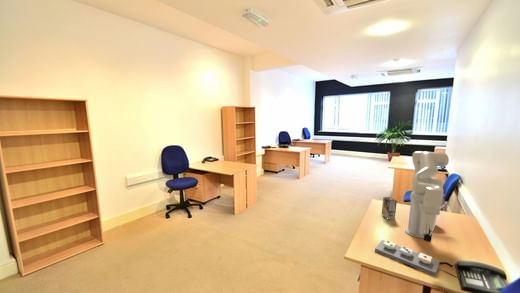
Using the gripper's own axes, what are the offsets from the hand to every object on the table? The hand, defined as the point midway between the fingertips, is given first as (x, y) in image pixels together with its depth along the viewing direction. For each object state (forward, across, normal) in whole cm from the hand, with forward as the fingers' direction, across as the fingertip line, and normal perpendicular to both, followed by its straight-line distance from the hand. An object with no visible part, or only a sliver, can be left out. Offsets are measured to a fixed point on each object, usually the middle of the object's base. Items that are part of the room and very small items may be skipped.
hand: (427, 240), depth 124 cm
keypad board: (+15, 0, -9) cm, 17 cm away
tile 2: (+13, 0, -18) cm, 22 cm away
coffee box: (+15, -53, -33) cm, 64 cm away
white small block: (+13, 0, -9) cm, 16 cm away
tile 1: (+13, 0, 0) cm, 13 cm away
